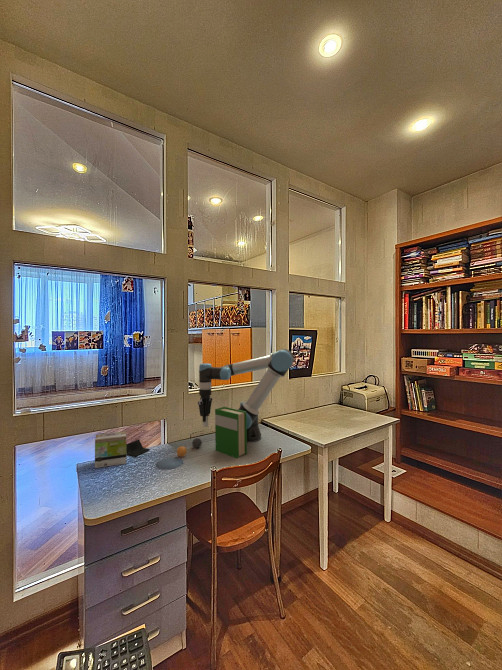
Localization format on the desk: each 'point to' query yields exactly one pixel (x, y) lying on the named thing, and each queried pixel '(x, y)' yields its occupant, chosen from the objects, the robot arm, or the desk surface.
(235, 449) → the hardback book
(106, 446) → the tea box
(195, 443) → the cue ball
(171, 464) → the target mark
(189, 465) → the desk surface
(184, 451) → the orange ball
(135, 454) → the black bookend
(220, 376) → the robot arm
